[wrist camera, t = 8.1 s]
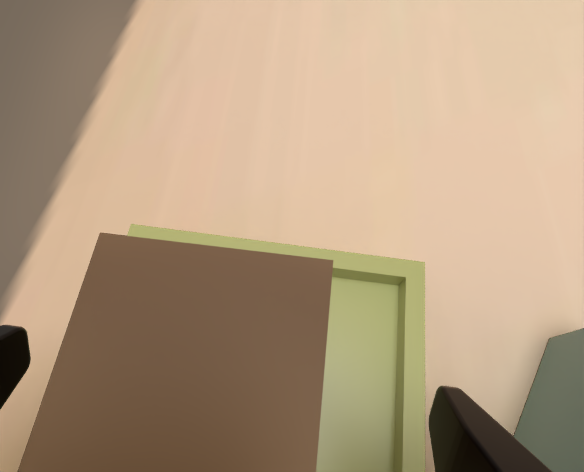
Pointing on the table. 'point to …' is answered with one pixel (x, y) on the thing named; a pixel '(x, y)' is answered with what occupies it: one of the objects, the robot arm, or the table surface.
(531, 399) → the teal open box
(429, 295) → the table surface
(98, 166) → the table surface
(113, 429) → the walnut stick
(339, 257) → the olive tray
